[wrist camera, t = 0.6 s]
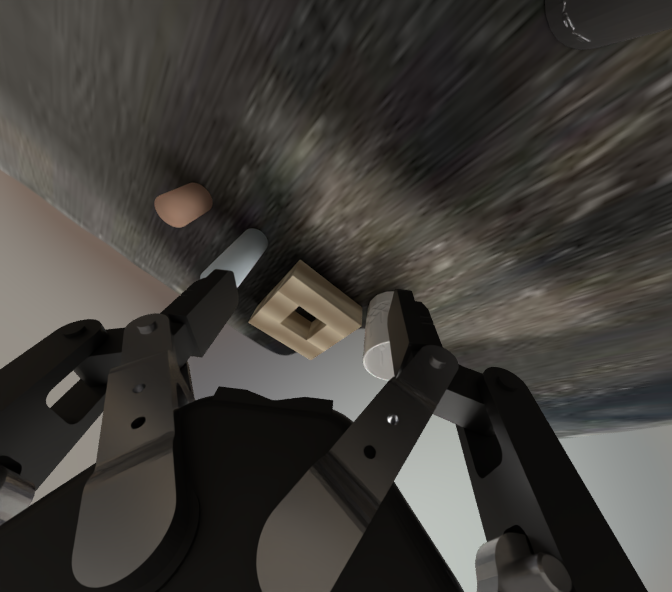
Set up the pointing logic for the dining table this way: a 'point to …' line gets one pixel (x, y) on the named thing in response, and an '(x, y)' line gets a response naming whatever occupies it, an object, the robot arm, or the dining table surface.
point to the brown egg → (183, 204)
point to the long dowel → (240, 255)
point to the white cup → (378, 338)
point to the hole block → (316, 298)
